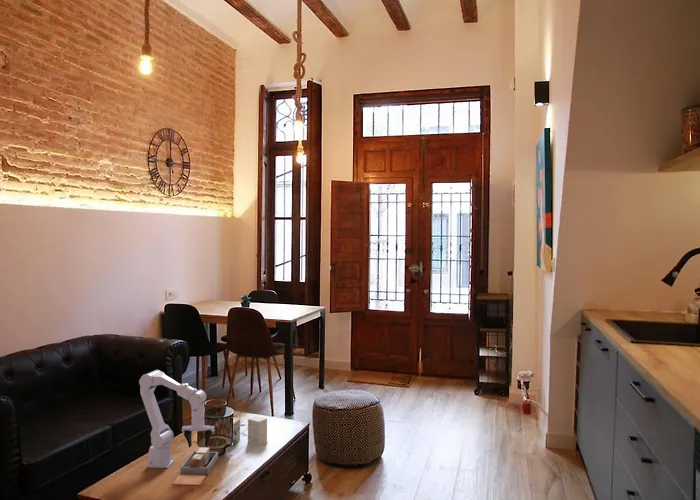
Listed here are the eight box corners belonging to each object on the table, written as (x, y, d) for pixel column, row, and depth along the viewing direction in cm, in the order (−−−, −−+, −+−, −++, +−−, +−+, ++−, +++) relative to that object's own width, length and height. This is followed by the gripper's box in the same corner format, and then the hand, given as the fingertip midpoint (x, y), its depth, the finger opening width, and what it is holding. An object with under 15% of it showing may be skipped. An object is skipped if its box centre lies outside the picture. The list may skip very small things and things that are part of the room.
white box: (196, 464, 257) (196, 452, 257) (200, 459, 263) (200, 447, 263) (205, 465, 257) (205, 452, 257) (209, 459, 263) (209, 447, 263)
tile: (172, 484, 237) (172, 483, 237) (179, 475, 246) (179, 474, 246) (199, 485, 236) (199, 484, 236) (206, 476, 245) (206, 475, 245)
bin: (180, 473, 247) (180, 467, 247) (193, 457, 265) (193, 451, 265) (207, 474, 247) (207, 468, 247) (218, 458, 265) (218, 452, 265)
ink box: (233, 446, 280) (233, 423, 279) (224, 445, 281) (224, 422, 280) (240, 439, 288) (240, 417, 288) (231, 439, 289) (231, 416, 289)
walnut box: (190, 472, 249) (190, 458, 249) (194, 466, 255) (194, 453, 255) (200, 472, 249) (200, 459, 249) (204, 467, 255) (204, 453, 255)
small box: (267, 442, 285) (267, 418, 284) (259, 446, 279) (259, 421, 279) (255, 439, 289) (255, 415, 289) (247, 443, 284) (247, 418, 283)
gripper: (179, 420, 247) (180, 449, 248) (211, 420, 247) (211, 449, 248) (184, 415, 254) (184, 444, 255) (215, 415, 254) (215, 443, 255)
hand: (198, 446), depth 252 cm, fingers open, 7 cm apart
